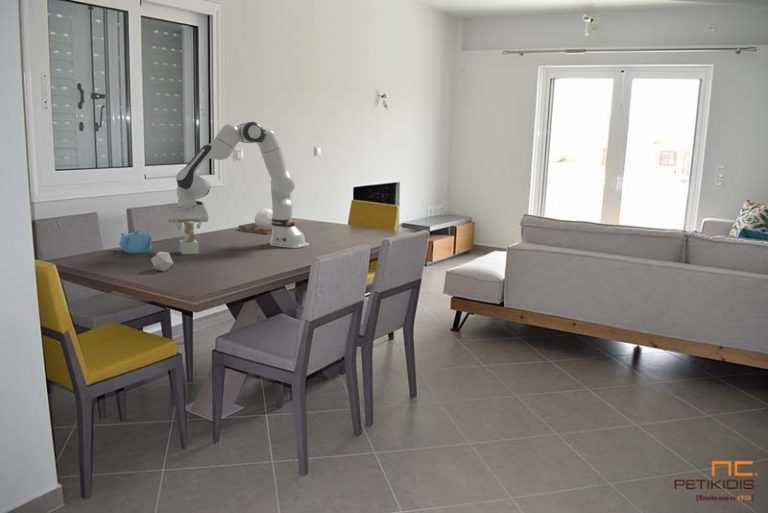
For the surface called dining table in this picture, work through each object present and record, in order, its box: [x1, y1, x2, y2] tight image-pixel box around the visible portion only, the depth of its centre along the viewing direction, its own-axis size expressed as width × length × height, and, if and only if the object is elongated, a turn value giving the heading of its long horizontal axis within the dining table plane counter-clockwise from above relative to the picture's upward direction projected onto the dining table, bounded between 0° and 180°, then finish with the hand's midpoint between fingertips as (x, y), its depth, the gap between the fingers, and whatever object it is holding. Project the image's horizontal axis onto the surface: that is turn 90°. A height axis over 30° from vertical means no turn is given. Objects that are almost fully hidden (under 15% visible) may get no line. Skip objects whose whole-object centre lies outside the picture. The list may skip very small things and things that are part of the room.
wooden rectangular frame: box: [237, 222, 272, 235], centre depth 406 cm, size 24×24×3 cm
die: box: [150, 251, 174, 272], centre depth 290 cm, size 8×9×10 cm
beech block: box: [183, 221, 195, 242], centre depth 328 cm, size 4×4×10 cm
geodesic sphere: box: [254, 207, 272, 229], centre depth 406 cm, size 15×14×14 cm
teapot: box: [119, 229, 153, 255], centre depth 328 cm, size 15×15×11 cm
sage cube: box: [178, 239, 200, 255], centre depth 330 cm, size 8×8×6 cm
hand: (188, 228), depth 328 cm, fingers open, 8 cm apart
